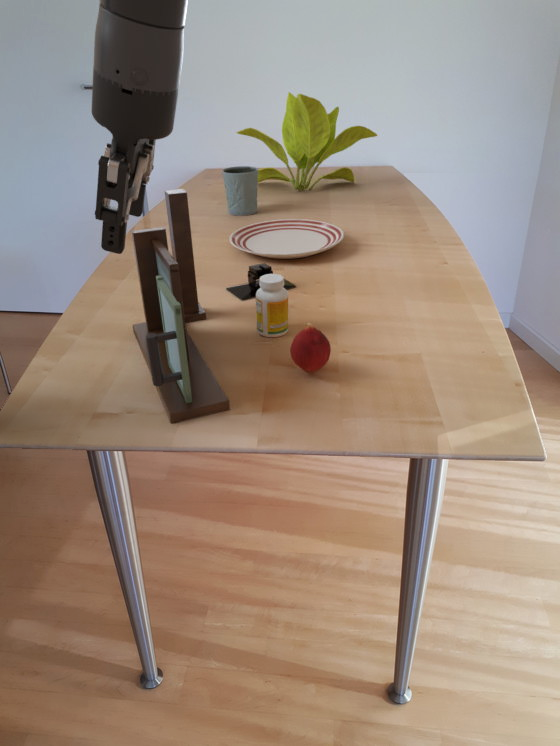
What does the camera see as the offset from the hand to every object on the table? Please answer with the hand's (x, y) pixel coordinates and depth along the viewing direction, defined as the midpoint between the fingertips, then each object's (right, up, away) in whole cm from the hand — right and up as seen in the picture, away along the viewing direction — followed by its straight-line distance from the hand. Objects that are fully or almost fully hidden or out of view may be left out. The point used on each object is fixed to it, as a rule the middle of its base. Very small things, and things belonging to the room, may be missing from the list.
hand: (122, 231), depth 59 cm
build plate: (+13, +1, +51) cm, 52 cm away
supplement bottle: (+16, -8, +34) cm, 38 cm away
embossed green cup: (+6, +32, +102) cm, 107 cm away
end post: (+1, -5, +40) cm, 40 cm away
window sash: (+1, -17, +16) cm, 24 cm away
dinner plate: (+19, +15, +73) cm, 77 cm away
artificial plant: (+26, +49, +129) cm, 141 cm away
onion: (+22, -15, +22) cm, 34 cm away
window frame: (+1, -14, +24) cm, 28 cm away
